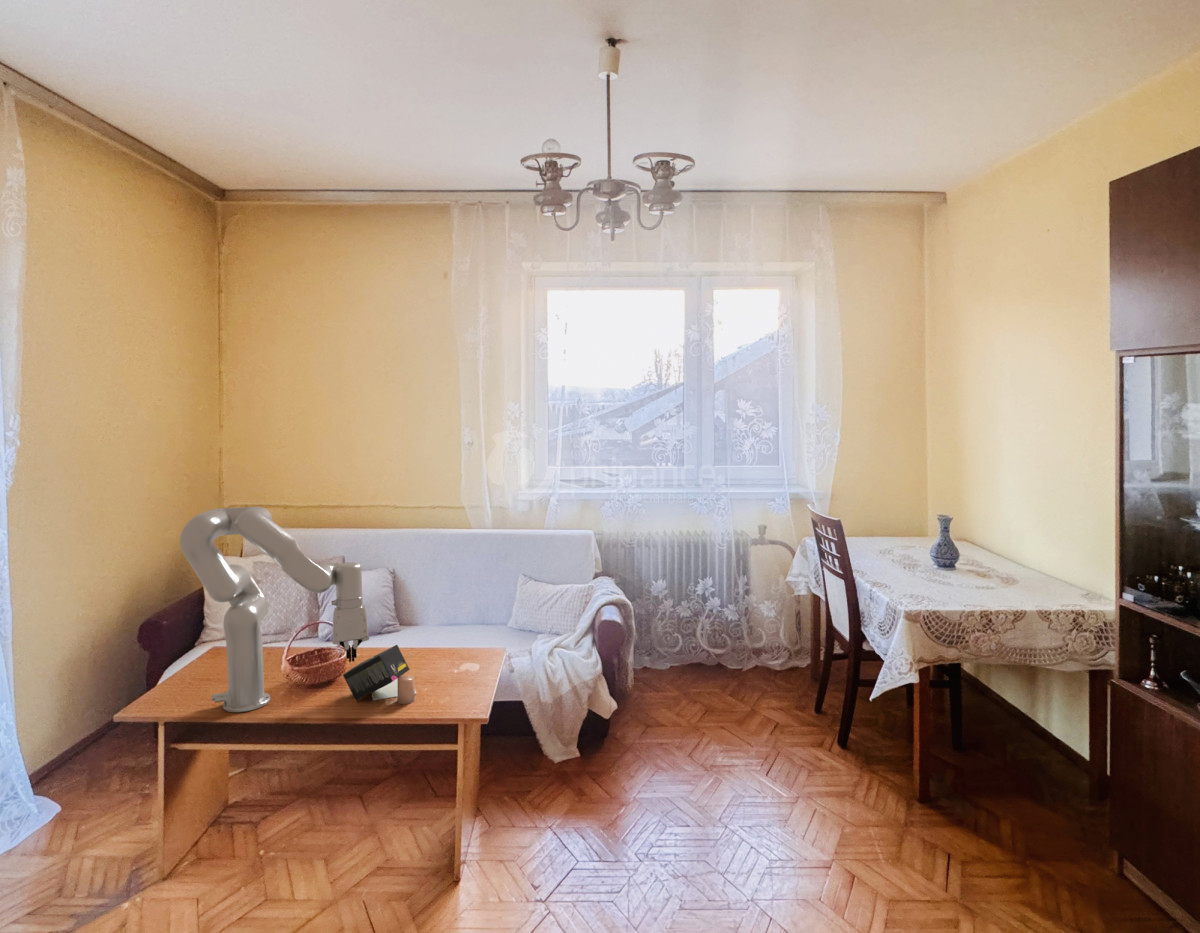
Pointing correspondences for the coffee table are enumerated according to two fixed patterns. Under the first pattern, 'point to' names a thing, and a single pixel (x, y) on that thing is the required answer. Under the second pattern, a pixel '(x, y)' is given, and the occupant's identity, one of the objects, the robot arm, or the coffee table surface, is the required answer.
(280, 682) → the coffee table surface
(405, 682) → the peg
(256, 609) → the robot arm
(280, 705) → the coffee table surface
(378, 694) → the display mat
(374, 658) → the tampon box
